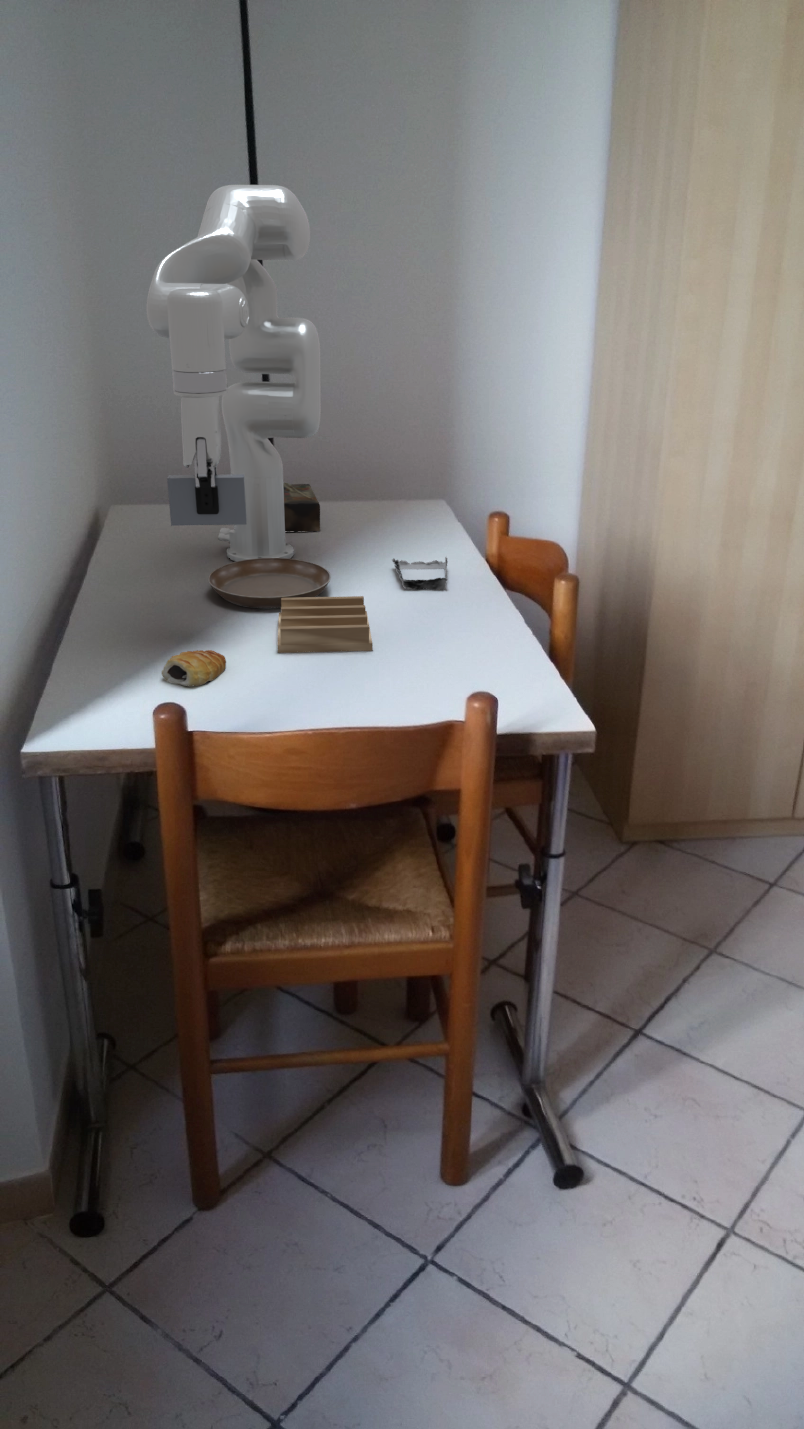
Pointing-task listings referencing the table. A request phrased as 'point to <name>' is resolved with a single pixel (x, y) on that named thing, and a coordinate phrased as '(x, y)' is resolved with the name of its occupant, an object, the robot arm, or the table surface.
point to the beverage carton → (300, 508)
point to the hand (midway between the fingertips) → (208, 510)
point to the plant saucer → (268, 581)
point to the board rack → (323, 625)
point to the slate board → (228, 498)
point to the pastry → (194, 667)
